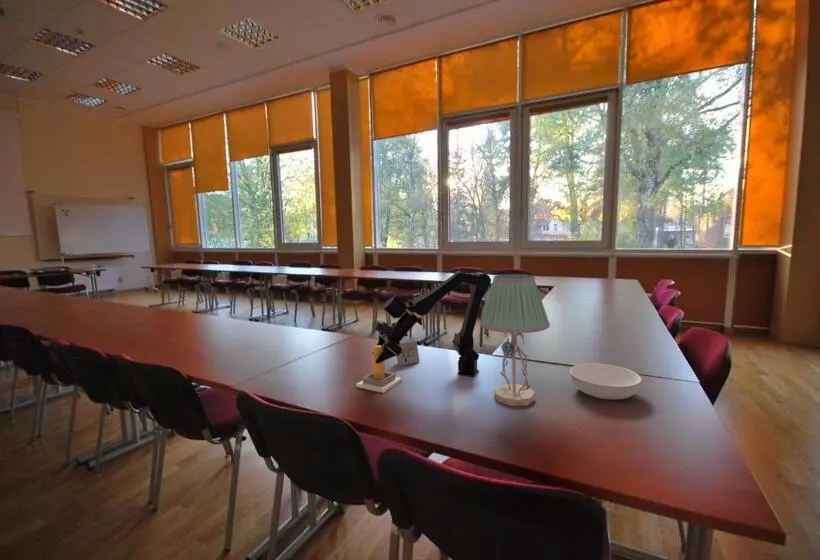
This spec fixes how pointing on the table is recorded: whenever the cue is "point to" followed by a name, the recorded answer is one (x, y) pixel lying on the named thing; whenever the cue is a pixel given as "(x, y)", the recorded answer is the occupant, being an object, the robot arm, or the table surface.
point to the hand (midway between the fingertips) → (374, 358)
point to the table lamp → (514, 327)
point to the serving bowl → (605, 380)
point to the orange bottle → (380, 367)
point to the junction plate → (379, 382)
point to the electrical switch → (408, 353)
